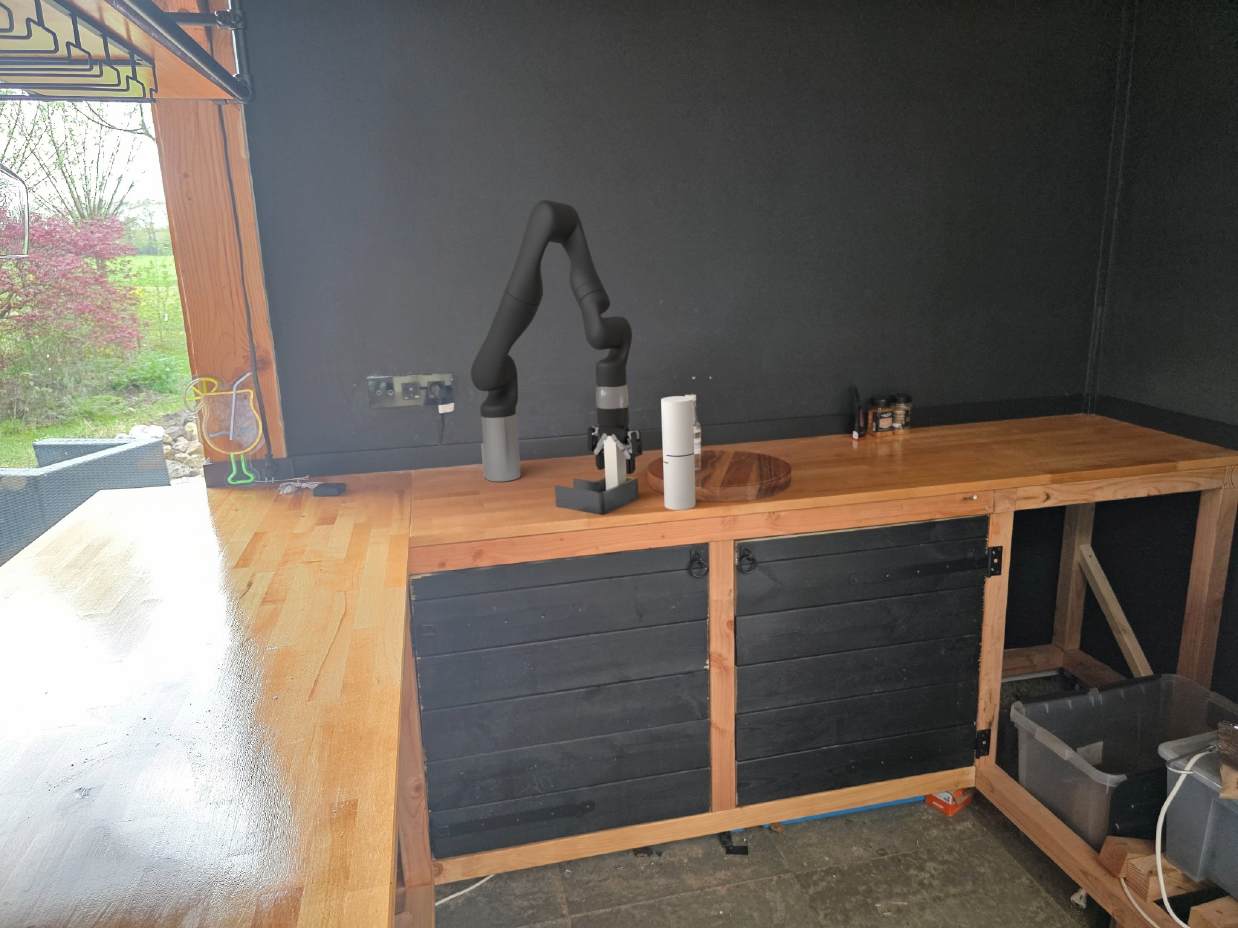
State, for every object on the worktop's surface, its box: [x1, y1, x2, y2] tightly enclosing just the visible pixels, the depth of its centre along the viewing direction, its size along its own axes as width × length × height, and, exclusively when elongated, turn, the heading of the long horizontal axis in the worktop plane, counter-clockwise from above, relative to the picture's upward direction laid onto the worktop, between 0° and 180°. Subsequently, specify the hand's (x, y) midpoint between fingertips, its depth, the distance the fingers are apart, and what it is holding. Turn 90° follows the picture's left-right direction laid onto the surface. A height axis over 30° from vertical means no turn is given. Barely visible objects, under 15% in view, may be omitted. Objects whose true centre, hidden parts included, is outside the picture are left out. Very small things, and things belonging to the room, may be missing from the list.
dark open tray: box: [554, 476, 640, 516], centre depth 200 cm, size 14×14×5 cm
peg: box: [603, 436, 627, 490], centre depth 199 cm, size 4×4×16 cm
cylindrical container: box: [660, 395, 696, 511], centre depth 192 cm, size 7×7×25 cm
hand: (615, 471), depth 199 cm, fingers open, 8 cm apart
